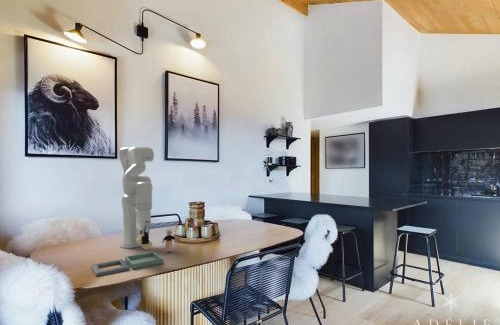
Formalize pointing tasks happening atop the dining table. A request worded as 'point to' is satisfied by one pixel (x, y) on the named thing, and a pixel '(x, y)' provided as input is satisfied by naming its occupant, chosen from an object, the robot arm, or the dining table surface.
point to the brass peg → (145, 246)
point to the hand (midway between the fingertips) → (143, 242)
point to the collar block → (98, 273)
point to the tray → (143, 260)
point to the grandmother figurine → (168, 241)
